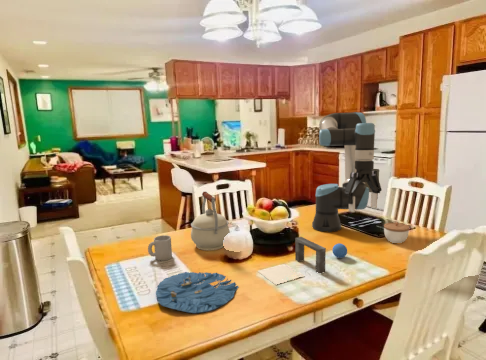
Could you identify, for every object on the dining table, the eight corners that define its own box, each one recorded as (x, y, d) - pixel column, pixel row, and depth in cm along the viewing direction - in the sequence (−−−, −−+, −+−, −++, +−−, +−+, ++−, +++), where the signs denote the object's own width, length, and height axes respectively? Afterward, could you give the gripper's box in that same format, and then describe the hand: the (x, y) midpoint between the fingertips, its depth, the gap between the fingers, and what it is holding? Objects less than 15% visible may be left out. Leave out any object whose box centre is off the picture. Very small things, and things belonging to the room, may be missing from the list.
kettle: (237, 249, 156) (235, 196, 151) (197, 256, 149) (194, 201, 145) (220, 233, 178) (218, 186, 174) (185, 238, 172) (182, 190, 167)
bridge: (319, 273, 130) (319, 249, 128) (295, 260, 143) (295, 238, 141) (325, 272, 131) (325, 248, 129) (301, 258, 144) (301, 236, 142)
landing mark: (257, 271, 133) (257, 270, 133) (284, 264, 139) (284, 263, 139) (275, 285, 122) (275, 284, 122) (304, 276, 128) (304, 276, 128)
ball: (329, 256, 145) (329, 243, 144) (339, 253, 148) (340, 240, 147) (339, 261, 140) (339, 247, 139) (350, 258, 143) (350, 244, 142)
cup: (173, 259, 147) (172, 239, 146) (149, 263, 144) (148, 243, 142) (170, 253, 154) (169, 234, 152) (147, 257, 150) (146, 237, 149)
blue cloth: (196, 269, 141) (196, 257, 140) (254, 290, 122) (253, 276, 121) (133, 296, 118) (132, 282, 117) (192, 326, 99) (191, 310, 98)
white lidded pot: (412, 245, 155) (413, 225, 153) (388, 246, 155) (389, 226, 153) (402, 237, 165) (403, 218, 164) (379, 238, 166) (380, 219, 164)
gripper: (350, 162, 134) (348, 214, 137) (391, 159, 146) (389, 207, 149) (336, 161, 140) (335, 211, 143) (376, 158, 153) (375, 204, 155)
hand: (362, 209), depth 146 cm, fingers open, 13 cm apart
